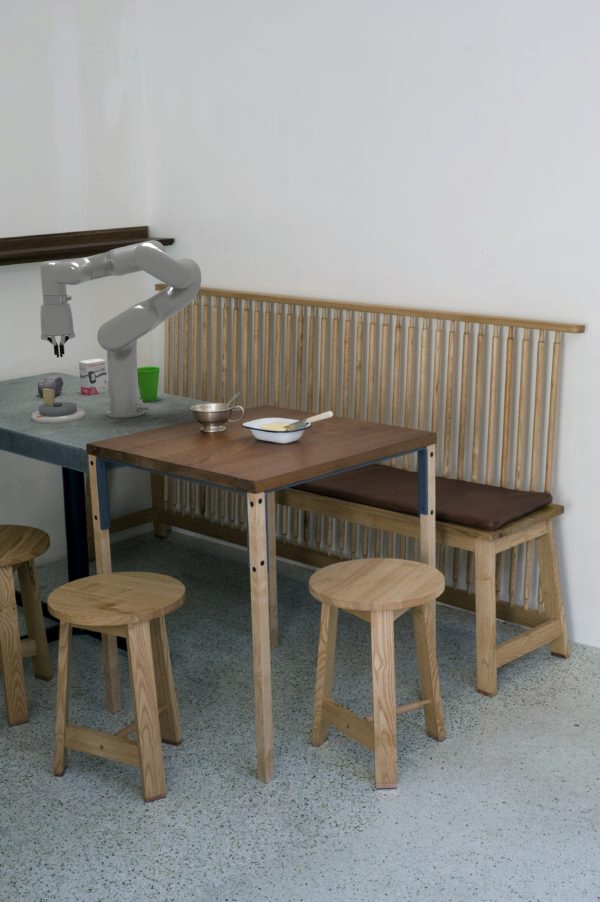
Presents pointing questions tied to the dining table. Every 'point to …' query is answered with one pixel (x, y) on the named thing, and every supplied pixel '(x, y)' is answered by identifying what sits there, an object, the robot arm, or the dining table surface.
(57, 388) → the pumice stone
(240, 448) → the dining table surface
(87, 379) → the ink box
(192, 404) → the dining table surface
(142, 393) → the cup
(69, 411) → the dial
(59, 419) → the plate
